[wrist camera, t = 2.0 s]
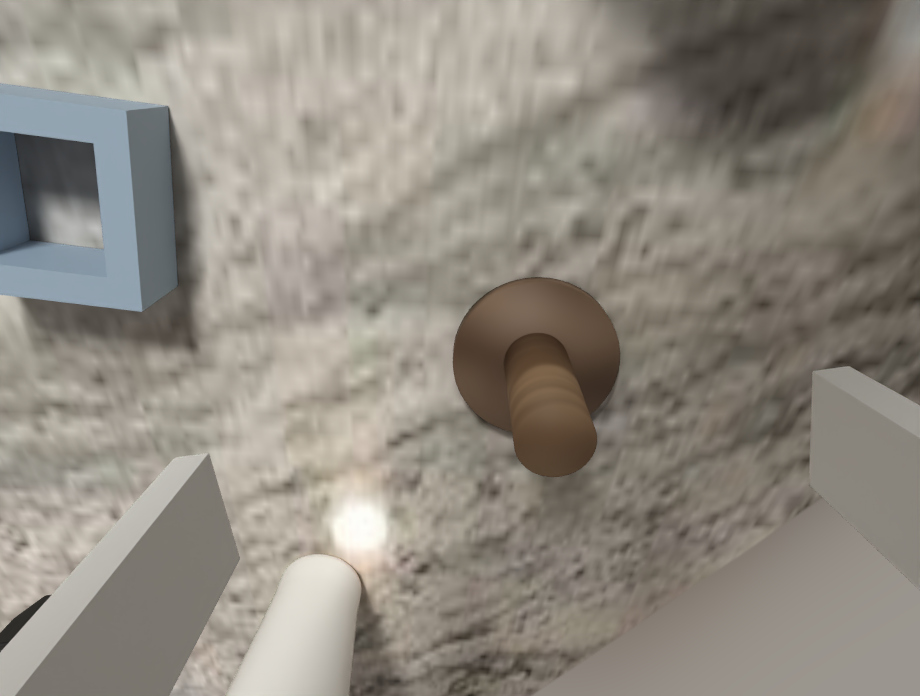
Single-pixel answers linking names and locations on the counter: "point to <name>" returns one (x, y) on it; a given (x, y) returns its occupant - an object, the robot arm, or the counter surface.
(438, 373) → the counter surface
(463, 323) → the post
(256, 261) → the counter surface
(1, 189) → the collar
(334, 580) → the drinking glass
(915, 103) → the counter surface
